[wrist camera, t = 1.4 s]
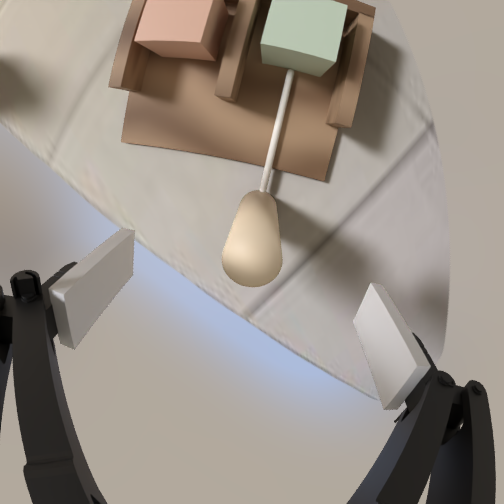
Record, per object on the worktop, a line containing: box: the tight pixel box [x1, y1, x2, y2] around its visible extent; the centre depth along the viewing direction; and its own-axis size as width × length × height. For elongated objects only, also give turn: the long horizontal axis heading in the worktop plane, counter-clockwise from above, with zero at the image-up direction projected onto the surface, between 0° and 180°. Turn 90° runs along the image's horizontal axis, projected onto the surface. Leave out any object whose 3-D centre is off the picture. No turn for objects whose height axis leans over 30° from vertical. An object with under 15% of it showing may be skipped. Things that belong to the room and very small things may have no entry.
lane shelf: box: [108, 0, 376, 181], centre depth 19 cm, size 16×19×5 cm
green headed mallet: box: [222, 0, 348, 287], centre depth 18 cm, size 20×5×11 cm, turn 168°
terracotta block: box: [134, 0, 229, 61], centre depth 16 cm, size 5×5×6 cm
